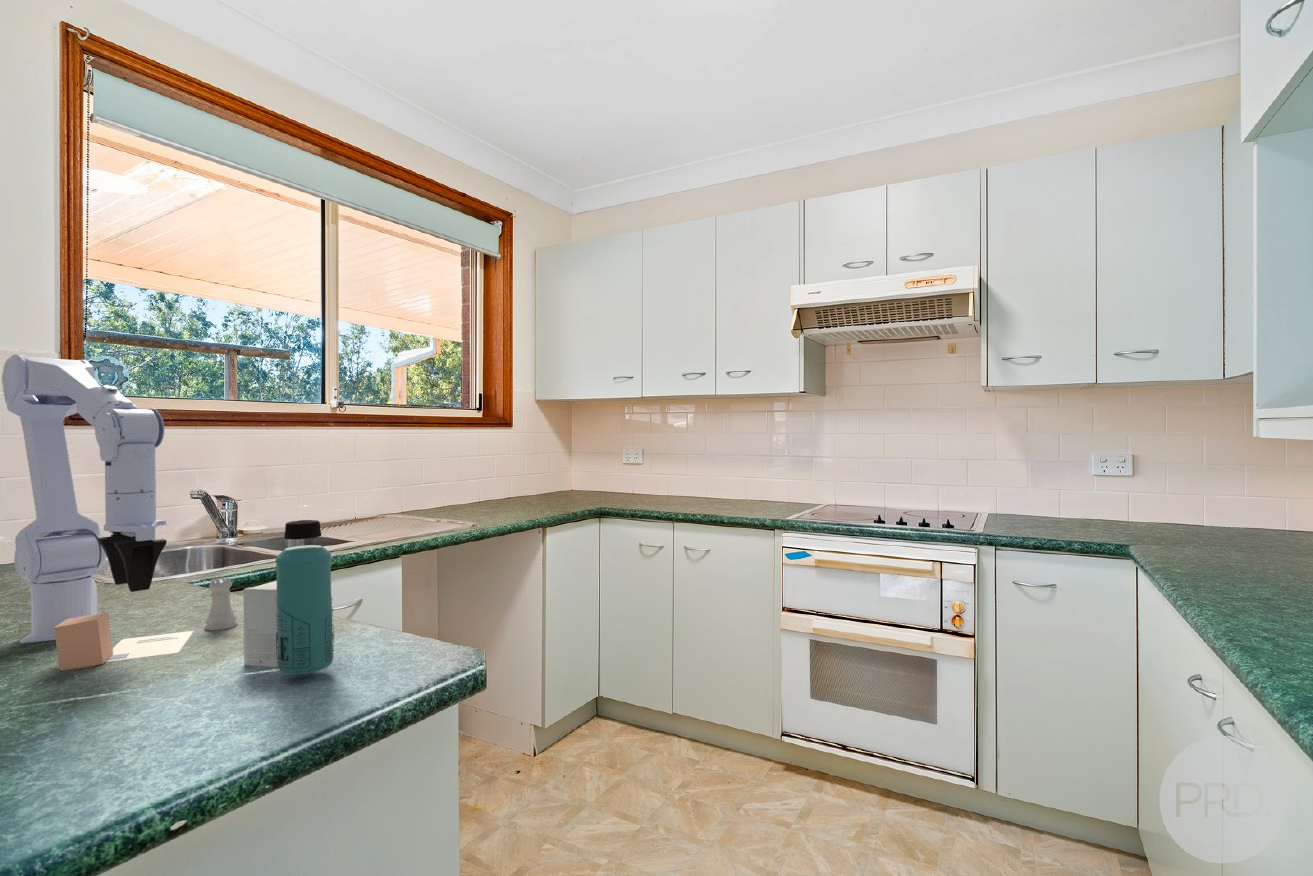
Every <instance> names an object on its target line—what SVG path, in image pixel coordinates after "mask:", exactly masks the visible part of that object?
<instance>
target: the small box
mask: <svg viewBox="0 0 1313 876" xmlns="http://www.w3.org/2000/svg"><path fill="white" fill-rule="evenodd" d="M276 588H277V580H273V581H269V582H267V583H263V584H261V585H256V586H252V587H246V588H243V665H244V666H253V667H255V666H256V667H267V668H269V667H270V668H278V659H277V658H278V648H277V656H276V635H277V629H276V628H277V600H276V599H277V589H276ZM275 600H276V601H275ZM275 616H276V617H275ZM277 647H278V641H277ZM276 660H277V661H276Z"/></svg>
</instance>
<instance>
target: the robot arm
mask: <svg viewBox="0 0 1313 876" xmlns="http://www.w3.org/2000/svg"><path fill="white" fill-rule="evenodd" d="M1 385H2V389H3V390H2V391H3V396H4V402H5V404H6V408H7V409H6V410H7V411H8V412H9V413H11V414H14V415H16V416H18V417H19V419H20V422H21V423H20V424H21V428H22V432H23V433H22V434H23V439H24V445H25V446H24V447H25V451H26V457H27V458H26V459H27V463H28V471H29V476H30V477H29V478H30V484H31V491H32V496H33V503H34V508H35V516H36V519H34V520H33V521H32V522H30V523H29V524H28V525H26V526H25V527H24V528H22V529H21V530H20V531H19V532H18V533H17V534H16V536H15V538H14V542H15V543H14V544H15V550H14V559H13V561H14V566H15V571H16V573H17V575H18V576H19V577H20V578H22V579H23V580H25V582H29V583H30V592H31V593H30V598H31V600H30V601H31V602H30V604H31V607H30V609H31V611H30V612H31V615H30V616H31V619H30V620H31V633H29V634H28V635H27V636H25V637H24V638H22V639H20V640H19V644H26V643H27V644H28V643H36V642H46V641H47V642H48V641H56V639H55V631H54V627H56V626H57V625H59V624H60V623H62V622H63V621H65V620H66V619H71V618H77V617H83V616H89V615H94V614H98V586H97V582H96V581H95V580H94V579H93V576H95V575H98V571H99V570H100V569H101V568H102V567H103V566H104V565H105V562H106V560H107V561H108V563H109V564H108V565H109V567H110V571H111V576H112V579H113V582H114V584H115V585H116V586H118V585H123V584H127V585H128V586H127V587H128V589H129V591H130V592H131V593H134V592H141V591H146V590H147V591H148V590H150V588H151V585H152V581H153V577H154V573H155V570H156V565H157V563H158V560H159V558H160V555H161V553H162V551H163V549H164V548H165V547H166V545H167V539H165V538H160V539H156V528H158V527H159V526H166V525H167V521H166V520H165V519H157V492H156V490H157V485H156V484H157V483H156V482H157V480H156V474H157V473H156V471H157V470H156V449H157V448H159V446H160V445H161V444H162V442H163V441H164V440H163V439H164V436H165V423H164V418H163V416H162V415H161V413H160V412H159V411H158V410H157V409H156V408H146V409H145V408H144V409H142V408H139V407H138V406H137V405H135V404H134V402H132V401H131V400H129V398H127V397H125V395H124V394H122V393H120V391H119V389H118V388H117V387H116V386H115V385H103V384H102V386H101V385H100V384H99V383H98V382H97V381H96V373H95V371H94V366H93V364H91V363H90V362H88V360H86V359H77V360H76V359H66V358H65V359H62V358H51V357H40V356H29V355H28V356H26V355H21V354H17V353H14V354H12V355H11V356H9V358H7V359H6V361H5V362H4V365H3V369H2V374H1ZM76 414H78V415H79V416H81V417H82V418H83V419H84V421H86V422H87V423H89V425H91V426H92V428H94V435H95V439H96V442H97V444H98V446H99V457H100V460H101V461H103V462H104V487H105V488H104V492H105V493H104V501H105V503H104V505H105V506H104V507H105V512H104V513H105V523H104V525H103V531H104V532H109V533H110V536H103V535H102V533H101V530H100V529H101V528H100V525H99V523H98V522H97V521H95V520H93V519H91V518H89V517H87V516H85V515H83V514H80V512H79V511H78V510H79V509H78V506H77V505H78V504H77V498H76V493H75V487H74V480H73V475H72V468H71V462H70V457H69V449H68V443H67V437H66V432H65V426H64V420H65V418H67V417H69V416H72V415H76Z"/></svg>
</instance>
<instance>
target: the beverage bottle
mask: <svg viewBox="0 0 1313 876" xmlns="http://www.w3.org/2000/svg"><path fill="white" fill-rule="evenodd" d="M284 526H285V529H284V533H283V534H284V535H283V536H284V537H283V539H285V540H307V539H315V538H320V537H322V529H321V522H320V520H316V519H312V520H311V519H302V520H301V519H300V520H294V521H293V520H292V521H288V522H286V523H285V525H284ZM275 557H276V558H275V559H274V560H275V568H276V569H275V570H276V571H275V572H276V573H275V574H276V581H277V588H276V589H277V599H276V600H277V628H276V629H277V635H276V656H277V648H278V658H277V659H278V667H277V668H278V670H279V672H280V673H282V674H285V675H300V674H302V675H303V674H308V673H314V672H317V671H318V672H319V671H321V670H323V669H326V668H327V667H330V666H331V665H332V663H333V659H334V658H335V656H334V652H335V650H334V648H335V645H334V643H335V626H334V624H333V613H334V610H333V603H332V602H333V601H334V600H333V598H332V572H331V571H332V569H331V563H332V562H331V558H332V553H331V552H330V551H329V550H328V549H326V548H325V547H324V546H323V545H316V544H308V545H298V546H291V547H286V548H284V549H283V550H282V551H281V552H280V553H279V554H278V555H277V556H275ZM276 600H275V601H276ZM275 617H276V616H275ZM277 641H278V647H277ZM276 661H277V660H276Z"/></svg>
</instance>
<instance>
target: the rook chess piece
mask: <svg viewBox="0 0 1313 876" xmlns="http://www.w3.org/2000/svg"><path fill="white" fill-rule="evenodd" d="M210 580H211V581H210V584H209V585H208V588H210V590H211V594H210V597H211V606H210V610H209V613H208V614H207V615H208V616H207V617H206V619H204V620H205V621H204V623H205V624H206V625H205V626H204V629H205V631H220V630H226V629H230V628H233V627H235V626H237V625H238V622H237V621H236V620H237V618H238V617H237V615H236V614H235V613H234V612H235V611H234V610H233V609H232V605H231V597H230V596H231V594H232V592H231V591H230V588H231V587H232V585H233V582H232V581H231V578H230V577H228V576H227V577H225V576H222V577H220V578H219V577H216V578H212V579H210Z"/></svg>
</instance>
